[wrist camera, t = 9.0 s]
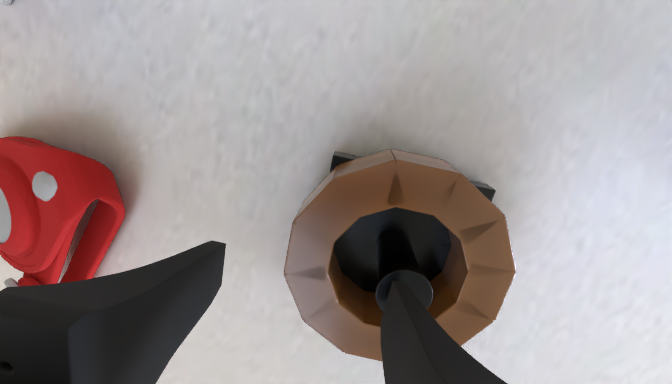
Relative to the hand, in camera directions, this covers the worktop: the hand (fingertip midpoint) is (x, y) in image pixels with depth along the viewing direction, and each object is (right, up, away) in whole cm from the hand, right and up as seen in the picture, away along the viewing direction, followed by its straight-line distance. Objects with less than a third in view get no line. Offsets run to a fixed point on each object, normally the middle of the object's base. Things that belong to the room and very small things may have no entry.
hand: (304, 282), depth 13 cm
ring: (+4, +1, +5) cm, 7 cm away
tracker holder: (-17, +2, +8) cm, 19 cm away
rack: (+5, +1, +6) cm, 8 cm away
